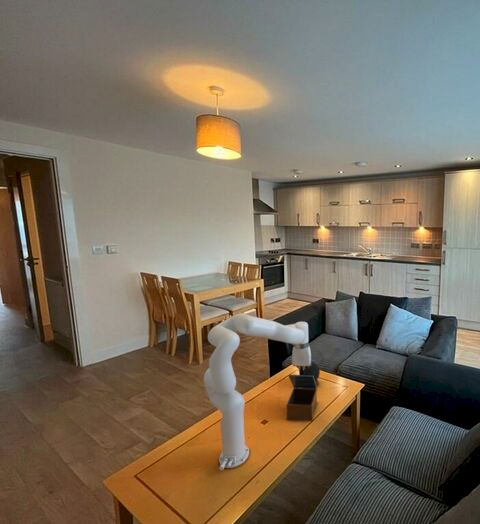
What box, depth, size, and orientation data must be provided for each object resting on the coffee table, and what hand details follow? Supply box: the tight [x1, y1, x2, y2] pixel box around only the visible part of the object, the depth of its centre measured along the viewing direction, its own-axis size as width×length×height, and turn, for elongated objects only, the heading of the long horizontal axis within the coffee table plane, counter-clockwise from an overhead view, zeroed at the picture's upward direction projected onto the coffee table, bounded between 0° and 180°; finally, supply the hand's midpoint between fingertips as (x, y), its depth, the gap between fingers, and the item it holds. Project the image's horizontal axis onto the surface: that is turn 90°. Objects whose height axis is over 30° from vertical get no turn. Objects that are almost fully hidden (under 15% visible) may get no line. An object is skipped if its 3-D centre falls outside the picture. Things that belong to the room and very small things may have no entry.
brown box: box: [286, 387, 318, 422], centre depth 160 cm, size 16×14×9 cm
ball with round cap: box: [302, 361, 321, 389], centre depth 185 cm, size 13×13×15 cm
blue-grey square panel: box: [288, 374, 318, 390], centre depth 161 cm, size 16×14×1 cm
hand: (302, 375), depth 159 cm, fingers closed
